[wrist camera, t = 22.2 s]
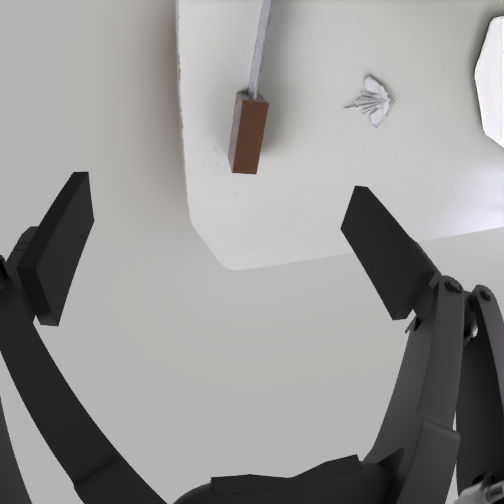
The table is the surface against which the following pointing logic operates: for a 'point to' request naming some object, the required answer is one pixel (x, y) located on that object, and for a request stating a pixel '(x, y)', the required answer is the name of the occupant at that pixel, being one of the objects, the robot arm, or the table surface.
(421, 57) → the table surface
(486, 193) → the table surface
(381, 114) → the flower
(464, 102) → the table surface
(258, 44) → the cake knife
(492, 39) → the plate
